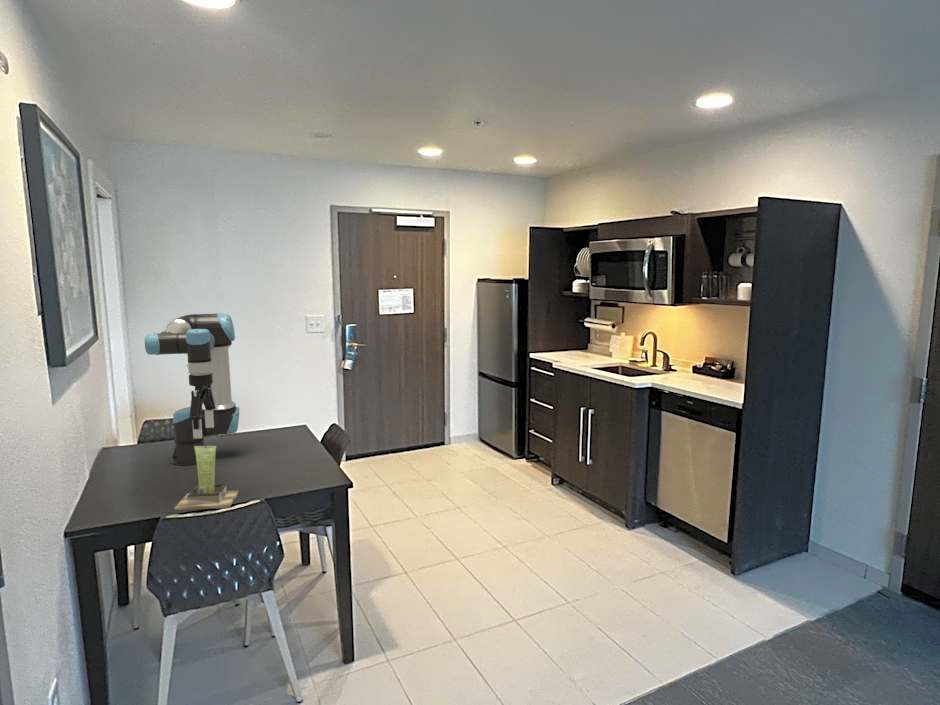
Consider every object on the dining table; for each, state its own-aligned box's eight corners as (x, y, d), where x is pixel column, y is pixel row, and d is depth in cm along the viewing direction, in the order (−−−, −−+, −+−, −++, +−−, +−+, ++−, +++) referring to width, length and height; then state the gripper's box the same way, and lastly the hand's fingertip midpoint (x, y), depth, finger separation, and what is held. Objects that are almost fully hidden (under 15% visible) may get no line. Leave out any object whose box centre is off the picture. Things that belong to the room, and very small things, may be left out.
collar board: (188, 495, 214) (187, 484, 213) (239, 493, 216) (238, 481, 216) (174, 510, 200) (173, 498, 200) (229, 507, 203) (228, 495, 202)
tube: (212, 494, 212) (210, 442, 210) (219, 498, 209) (216, 445, 206) (197, 498, 208) (194, 445, 205) (203, 502, 204) (200, 448, 202)
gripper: (200, 367, 214) (203, 423, 217) (176, 380, 189) (180, 443, 192) (221, 367, 215) (224, 423, 218) (200, 379, 191) (204, 442, 193)
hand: (204, 432), depth 205 cm, fingers open, 13 cm apart
